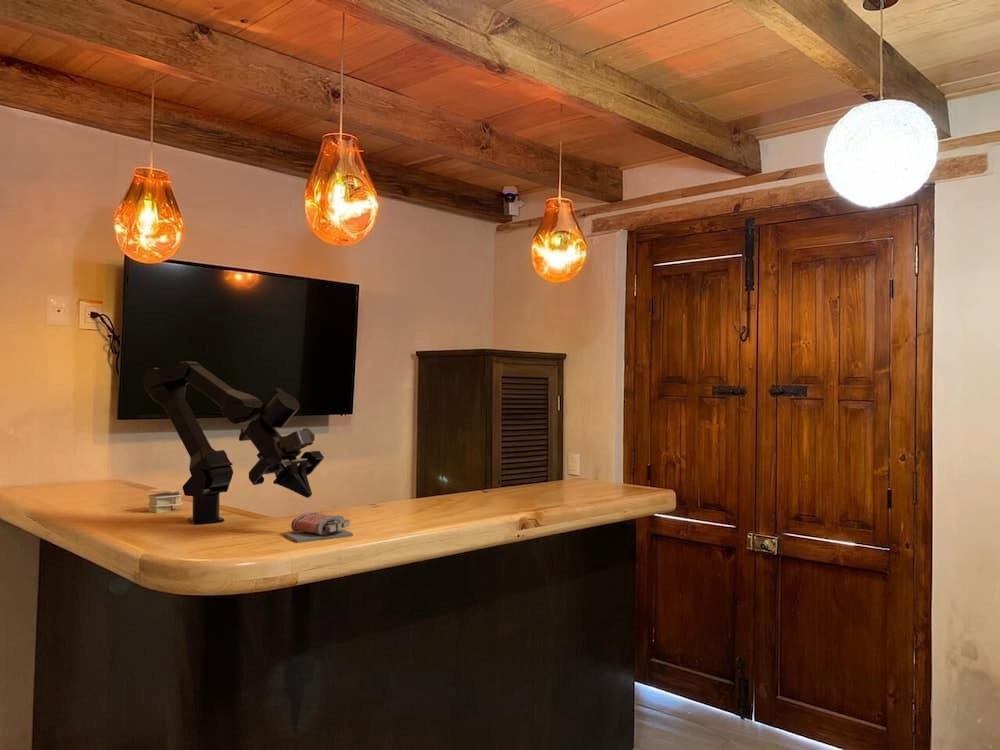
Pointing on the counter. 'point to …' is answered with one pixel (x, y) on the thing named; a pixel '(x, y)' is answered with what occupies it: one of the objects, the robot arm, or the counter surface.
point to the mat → (316, 536)
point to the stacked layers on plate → (164, 500)
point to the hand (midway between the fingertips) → (309, 496)
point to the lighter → (319, 523)
